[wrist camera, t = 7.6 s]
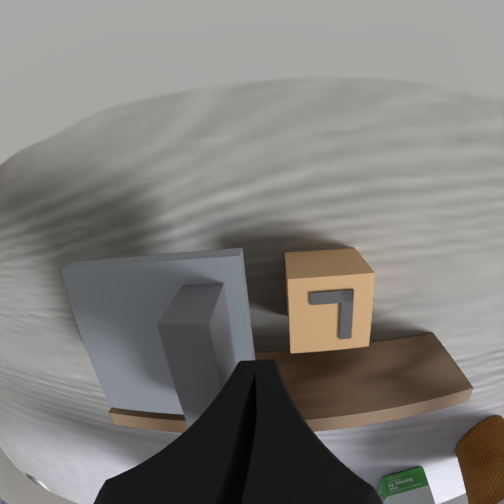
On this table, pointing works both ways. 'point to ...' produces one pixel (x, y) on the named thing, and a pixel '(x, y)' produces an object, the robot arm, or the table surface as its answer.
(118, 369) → the slate cover
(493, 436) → the disposable coffee cup
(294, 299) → the letter cube
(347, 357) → the walnut track wall
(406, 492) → the ink box
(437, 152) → the table surface
